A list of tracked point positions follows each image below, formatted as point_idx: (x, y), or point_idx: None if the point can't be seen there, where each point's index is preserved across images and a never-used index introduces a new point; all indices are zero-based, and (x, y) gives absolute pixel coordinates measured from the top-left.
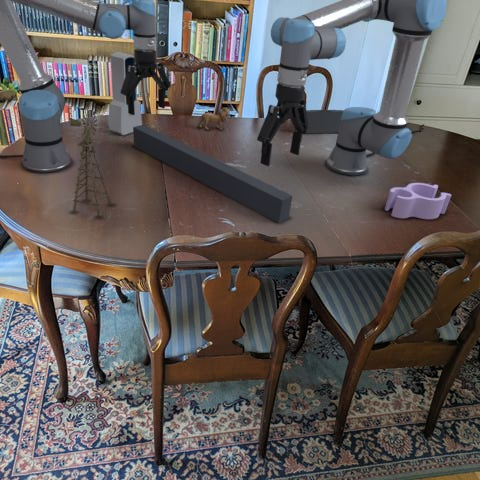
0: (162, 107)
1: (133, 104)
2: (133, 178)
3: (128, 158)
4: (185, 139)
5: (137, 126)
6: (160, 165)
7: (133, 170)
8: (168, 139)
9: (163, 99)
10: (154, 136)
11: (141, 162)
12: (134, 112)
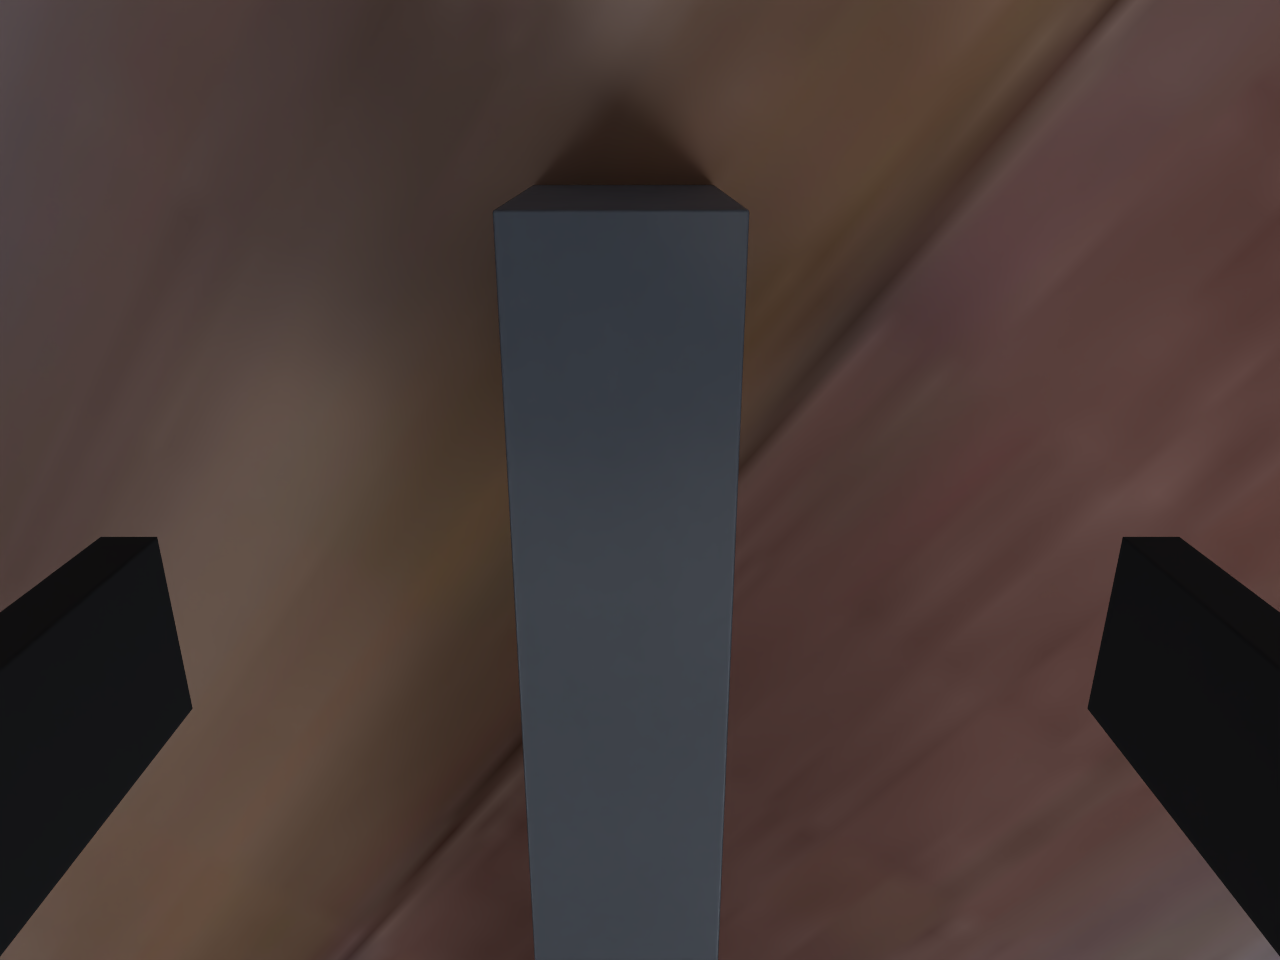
0: (1104, 696)
1: (3, 914)
2: (95, 845)
3: (269, 467)
4: (1271, 377)
5: (580, 228)
6: (478, 773)
7: None
8: (643, 892)
9: (1246, 892)
10: (545, 731)
11: (346, 625)
12: (160, 745)
